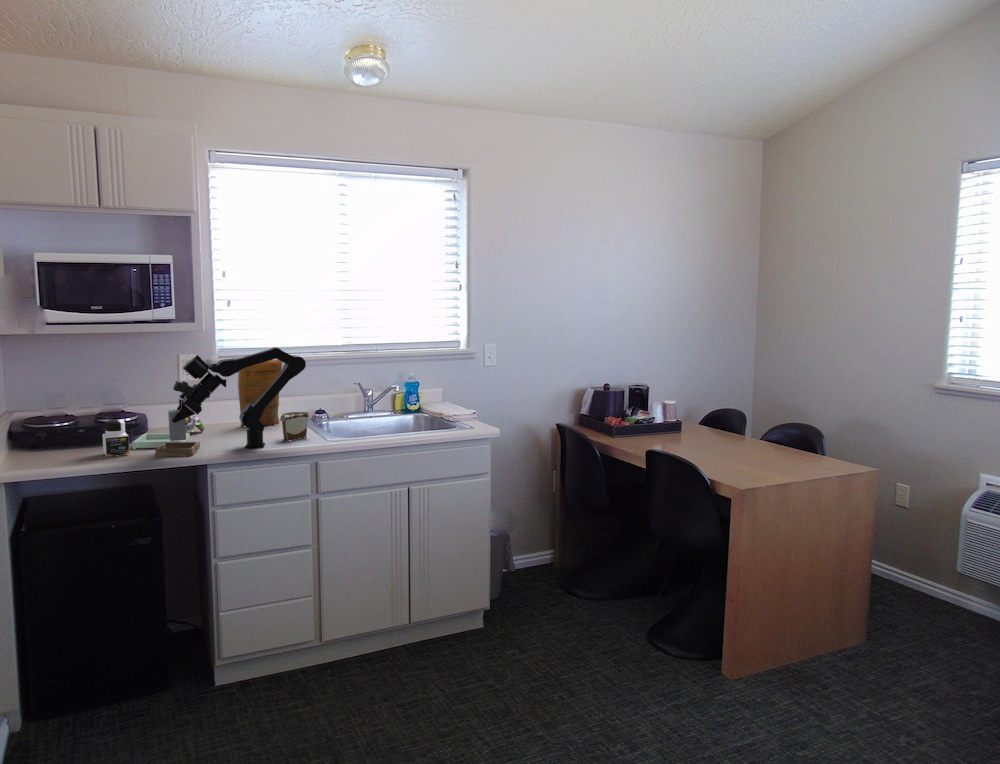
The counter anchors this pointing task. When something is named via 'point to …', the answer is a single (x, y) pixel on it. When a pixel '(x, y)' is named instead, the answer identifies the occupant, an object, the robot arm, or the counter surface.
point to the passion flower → (193, 423)
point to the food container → (294, 425)
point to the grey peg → (176, 427)
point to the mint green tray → (154, 440)
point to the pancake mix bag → (259, 388)
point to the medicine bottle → (115, 438)
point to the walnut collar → (177, 449)
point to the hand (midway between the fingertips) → (172, 420)
